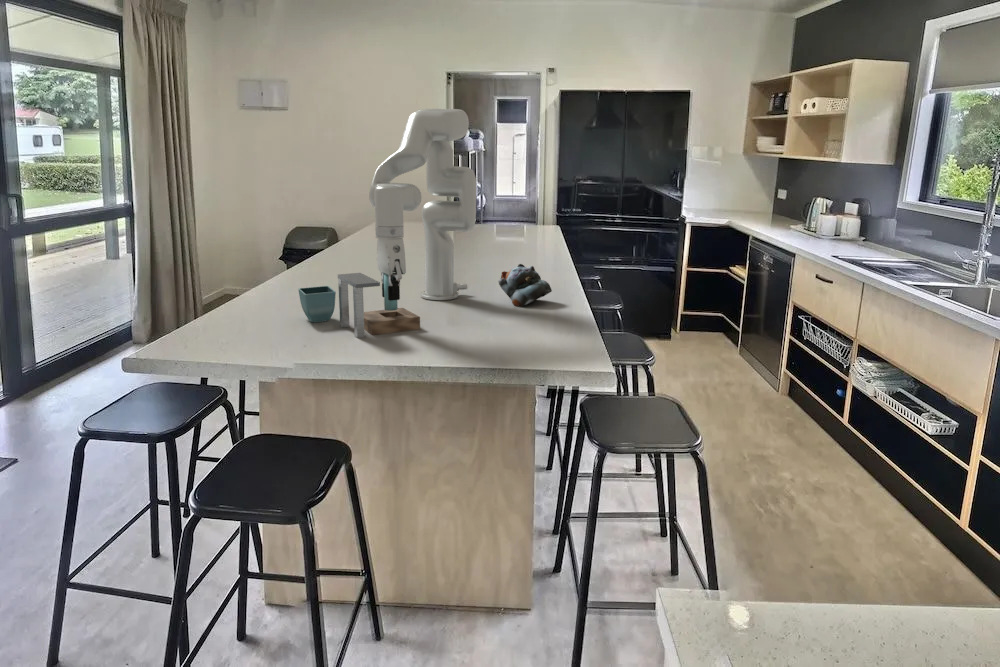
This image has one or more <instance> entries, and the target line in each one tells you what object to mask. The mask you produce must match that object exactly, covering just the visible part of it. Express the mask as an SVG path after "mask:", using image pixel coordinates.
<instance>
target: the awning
mask: <svg viewBox="0 0 1000 667" xmlns="http://www.w3.org/2000/svg"><path fill="white" fill-rule="evenodd" d="M337 281H338V307H339V308H338V309H339V325H340V326H339V327H341V328H349V327H350V311H349V310H350V305H349V304H350V303H349V302H350V301H349V286H351V287H352V294H353V295H352V299H353V301H352V302H353V324H354V326H353V327H354V337H355V338H357V339H360V338H365V330H364V312H365V311H364V310H365V309H364V308H365V307H364V306H365V305H364V288H371V287H373V288H374V287H381V282H380V281H378V280H376V279H374V278H372V277H370V276H368V275H366V274H364V273H362V272H353V273H339V274H337Z"/></svg>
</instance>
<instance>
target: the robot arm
mask: <svg viewBox="0 0 1000 667" xmlns="http://www.w3.org/2000/svg"><path fill="white" fill-rule="evenodd" d="M469 122H470V121H469V116H468V114H467V113H466V111H464V110H463V109H458V108H422V109H419V110H416V111H415V112H412V113H411V114H410V115H409V116H408V118H407V120H406V124H405V127H404V130H403V133H402V136H401V140H400V143H399V146H398V149H397V151H396V152H394V153H393V154H391V155H390V156H388V157H387V158H386V159H385V160H384V161H383V162H382V163H380V165H379V166H378V167H377V168H376V170H375V172H374V175H373V178H372V179H371V180H372V181H371V184H370V187H369V192H368V200H369V203H370V205H371V207H373V208H374V219H375V220H374V222H375V223H374V224H375V226H374V228H375V229H374V230H375V239H377V242H376V244H377V245H376V264H377V270H378V271H379V272H380V277H381V279H380V280H381V296H382V297H383V298H384V273H385V274H387V275H388V276H389V286H388V300H390V301H392V300H397V301H399V300H400V299H401V296H400V294H401V293H400V288H401V287H400V286H401V281H402V279H403V275H405V274H407V270H406V269H407V265H406V251H405V244H404V233H405V232H404V231H405V230H404V212H413V211H415V210H416V209H418V208H419V206H420V205H421V203H422V192H421V190H420V189H419V187H418V186H416V185H415V184H412V183H399V182H392V181H393V180H395V178H397V177H399V176H402V175H404V174H407V173H409V172H413V171H414V170H417V169H419V168H421V167H423V166H424V165H425V166H426V168H425V169H426V173H425V174H426V176H425V177H426V189H427V192H428V193H429V194H430V195H432V196H434V197H435V196H436V197H446V198H447V197H449V198H451V197H452V198H458V199H459V201H458V200H457V201H456V200H454V201H453V200H452V201H451V200H430V201H427V202H426V203H425V204H424V205H423V206H422V209H421V220H422V226H423V231H424V262H425V263H424V264H425V265H424V268H425V269H424V273H425V274H424V275H425V276H424V278H425V279H424V281H425V283H424V284H425V286H424V287H425V288H424V289H425V290H423V291H422V292H420V297H421V298H423V299H425V300H431V301H451V300H455V299H457V298H459V296H460V295H459V291H460V290H461V291H462V290H468V283H460V282H459V283H457V282H455V243H454V240H453V238H452V237H451V234H449V232H461V233H462V232H463V233H464V232H470V231H473V229H474V227H475V224H476V219H477V178H476V174H475V172H474V171H473V169H472V168H470V167H467V166H454V150H453V147H452V145H451V143H450V142H453V141H457V140H460V139H463V138H464V137H465V136H466V134H467V133H468V130H469V127H470V123H469ZM393 273H395V274H393ZM392 277H394V278H393V280H392Z"/></svg>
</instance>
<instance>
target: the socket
mask: <svg viewBox="0 0 1000 667" xmlns="http://www.w3.org/2000/svg"><path fill="white" fill-rule="evenodd" d="M416 330H421V316H419V315H418V314H416V313H413V312H411V311H410V310H408V309H406V308H404V307H398V309H397V310H394V311H387V310H385V309H380V310H369V311H364V332H366V333H368V334H370V335H371V336H375V335H376V336H377V335H384V334H391V333H399V332H407V331H408V332H409V331H416Z"/></svg>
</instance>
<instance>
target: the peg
mask: <svg viewBox="0 0 1000 667" xmlns="http://www.w3.org/2000/svg"><path fill="white" fill-rule="evenodd" d="M393 274H395V272H393ZM393 278H394V277H392V280H393ZM388 286H389V276H388V275H387V274H385V273H384V297H383V299H384V300H383V305H384V306H383V307H384V309H383V310H387V311H394V310H397V309H398V308H399V306H398V300H392V301H390V300H388Z"/></svg>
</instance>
